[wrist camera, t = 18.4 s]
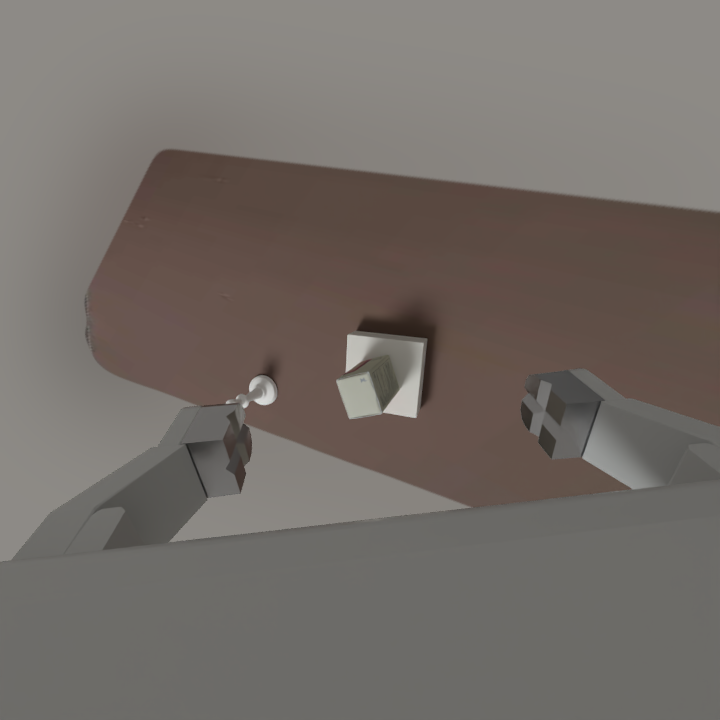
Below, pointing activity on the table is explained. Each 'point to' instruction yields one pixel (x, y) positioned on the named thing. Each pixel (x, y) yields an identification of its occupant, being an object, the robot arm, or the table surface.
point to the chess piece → (258, 392)
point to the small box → (368, 387)
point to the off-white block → (405, 362)
